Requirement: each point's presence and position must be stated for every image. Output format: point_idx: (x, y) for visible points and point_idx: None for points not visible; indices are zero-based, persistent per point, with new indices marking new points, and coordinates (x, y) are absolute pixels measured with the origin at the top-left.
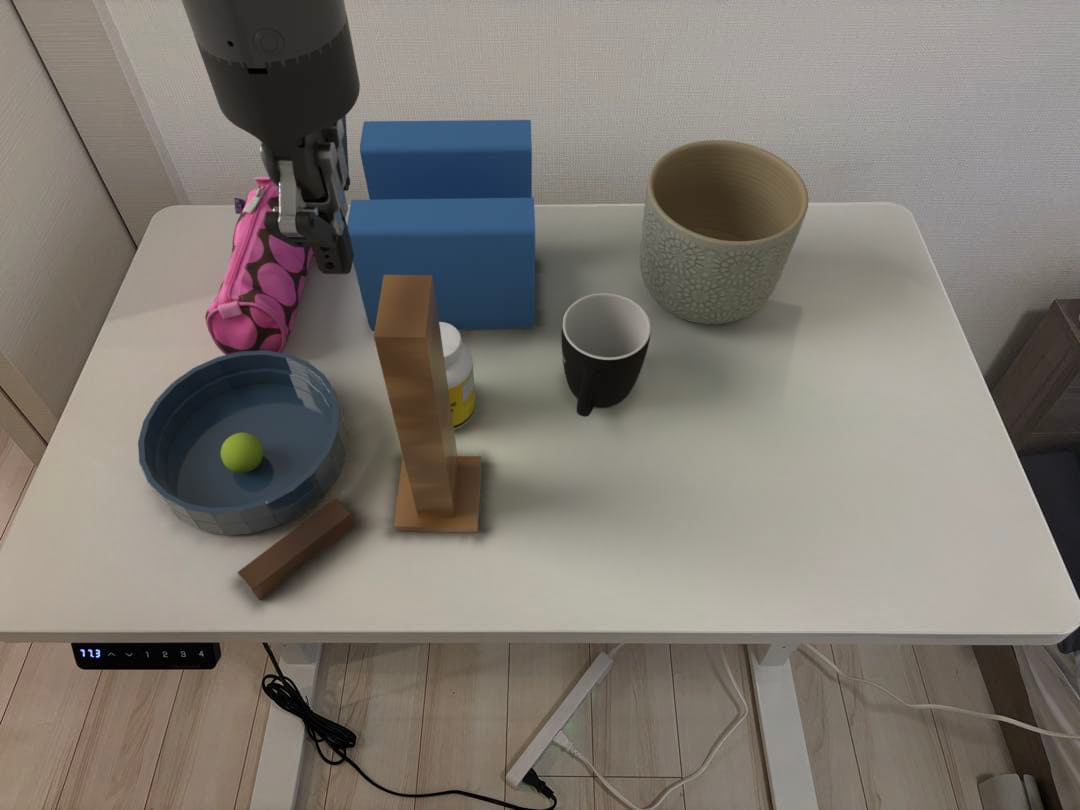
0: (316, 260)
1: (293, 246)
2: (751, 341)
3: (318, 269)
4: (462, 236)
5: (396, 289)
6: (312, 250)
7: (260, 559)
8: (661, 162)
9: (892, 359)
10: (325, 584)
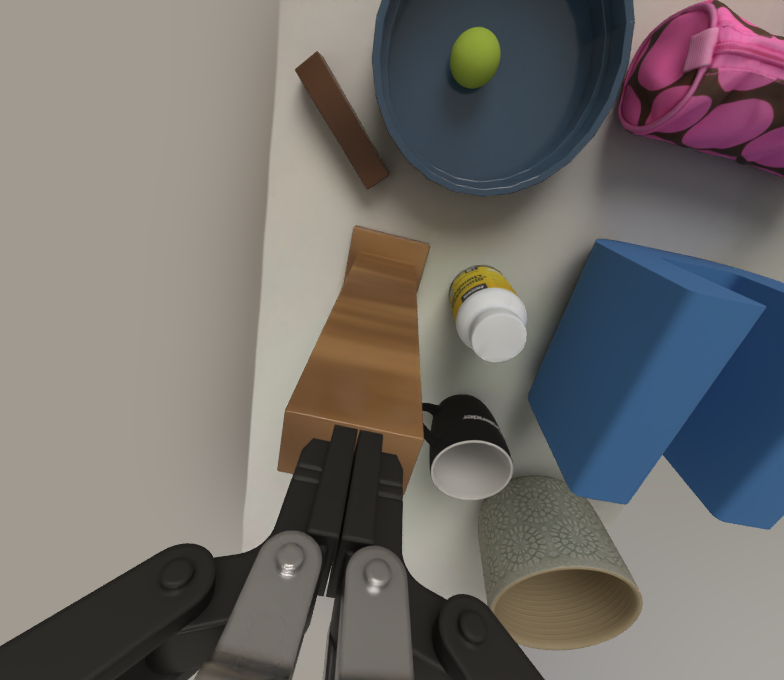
0: (328, 448)
1: (141, 564)
2: (466, 511)
3: (334, 426)
4: (606, 424)
5: (383, 451)
6: (322, 472)
7: (329, 81)
8: (629, 585)
9: (423, 568)
10: (311, 150)
